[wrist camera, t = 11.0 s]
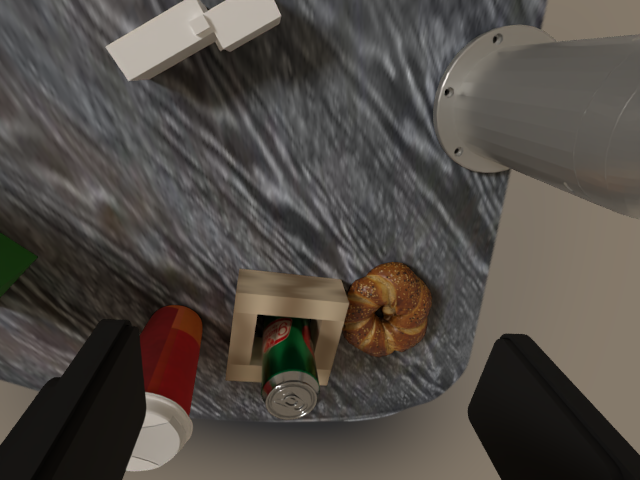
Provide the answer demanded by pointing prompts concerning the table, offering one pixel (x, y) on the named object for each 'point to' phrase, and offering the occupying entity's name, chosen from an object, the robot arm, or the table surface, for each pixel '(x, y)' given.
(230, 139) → the table surface
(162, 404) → the paper cup
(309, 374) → the soda can
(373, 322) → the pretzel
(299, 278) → the holder
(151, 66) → the white stepped block
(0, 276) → the hardback book
